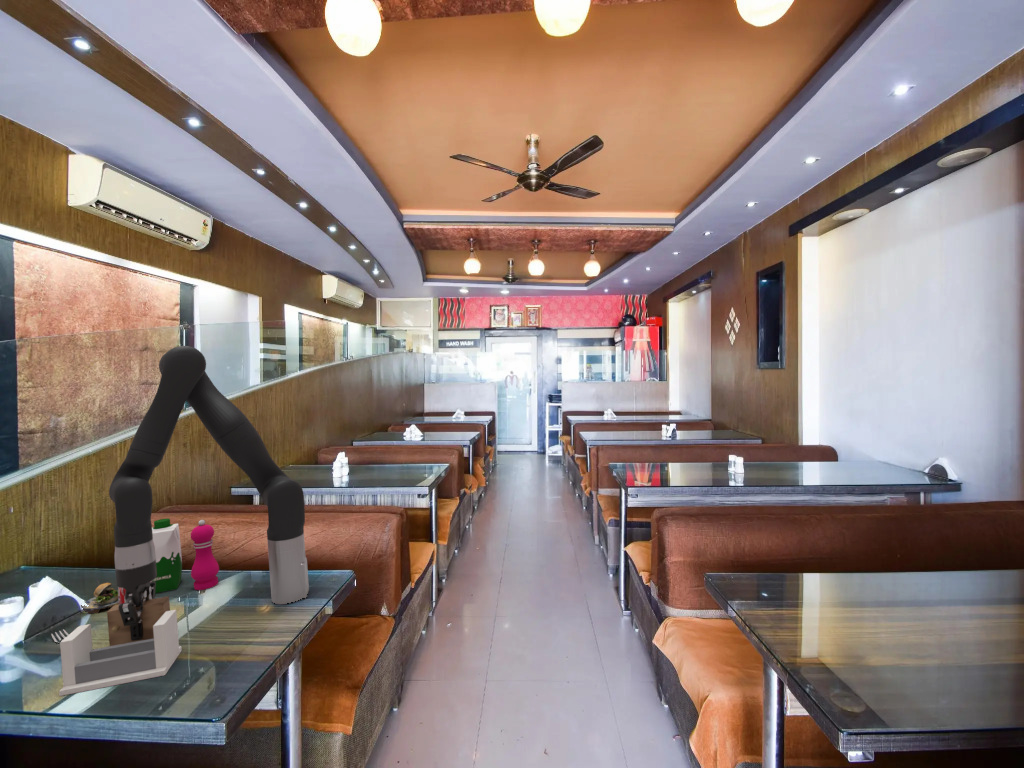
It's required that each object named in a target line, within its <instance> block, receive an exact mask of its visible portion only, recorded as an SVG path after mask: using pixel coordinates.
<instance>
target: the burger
mask: <svg viewBox="0 0 1024 768" xmlns="http://www.w3.org/2000/svg"><path fill="white" fill-rule="evenodd" d="M97 582H98V586H97V587H96V588H95V590H94V592H93V597H90V598H88V599H87V600H85V601H84V602H85V603H86V604H87V605H89V606H88V607H87V606H85V605H84V606H82V605H81V604H80V608H81V609H82V608H83V610H84V611H85V612H88V613H89V614H90V613H92V614H94V613H96V614H99V612H100V610H102V609H107V608H108V609H109V608H112V607H113V606H114V605H119V598H118V589H116V590H115V588H113V587H112V585H113V584H112V583H110V582H104V583H101V584H100V582H99V581H97Z"/></svg>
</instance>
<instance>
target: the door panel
mask: <svg viewBox="0 0 1024 768" xmlns="http://www.w3.org/2000/svg"><path fill="white" fill-rule="evenodd" d="M119 605H120V604H117V605H114V606H112V607H110V609H108V610H107V612H106V615H107V616H106V617H107V629H108V630H107V631H108V641H109V642H108V643H109V646H114V645H120V644H125V643H131V642H136V641H142V640H148V639H153V638H154V633H153V626H154V625H155V623H156V622H157V621H158V620H159V619H160V618H161V616H162V615H163V614H164V613H165V612H166V611H171V606H170V596H163V597H155V599H150V600H148V601H147V600H146V601H145V605H144V609H145V610H144V611H143V612H142V619H143V620H142V623H143V638H142V639H140V640H135V641H132V640H131V633H130V625H128V626H124V624H123V621H122V618H121V614H120V611H119ZM135 609H140V607H136V608H135ZM137 615H138V613H137Z"/></svg>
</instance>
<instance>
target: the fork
mask: <svg viewBox="0 0 1024 768" xmlns="http://www.w3.org/2000/svg"><path fill="white" fill-rule="evenodd" d="M62 631H63V632H64V633H62ZM62 631H61V630H58V632H59V634H58V632H56V631H55V632H54V634H55V635H54V634H53V633H50V635H51V637H52V639H53V641H54V643H55V642H58V641H60V640H61V639H62V638H63V639H65V638H66V637H67V636H68V635H69V634H70V633H68V632H67V631H66V630H65V629H62ZM64 634H65V635H64ZM60 636H61V637H62V638H61V637H60ZM57 639H58V640H57Z"/></svg>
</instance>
